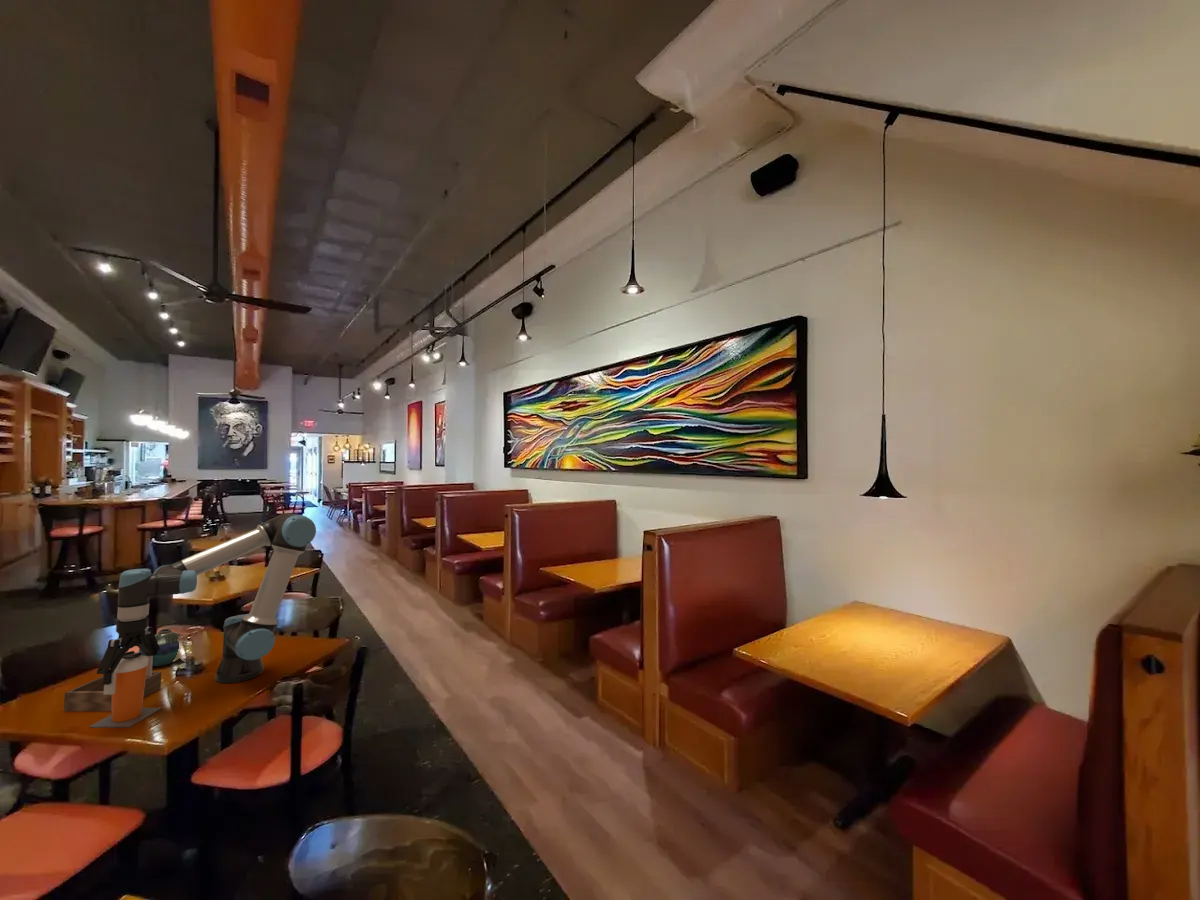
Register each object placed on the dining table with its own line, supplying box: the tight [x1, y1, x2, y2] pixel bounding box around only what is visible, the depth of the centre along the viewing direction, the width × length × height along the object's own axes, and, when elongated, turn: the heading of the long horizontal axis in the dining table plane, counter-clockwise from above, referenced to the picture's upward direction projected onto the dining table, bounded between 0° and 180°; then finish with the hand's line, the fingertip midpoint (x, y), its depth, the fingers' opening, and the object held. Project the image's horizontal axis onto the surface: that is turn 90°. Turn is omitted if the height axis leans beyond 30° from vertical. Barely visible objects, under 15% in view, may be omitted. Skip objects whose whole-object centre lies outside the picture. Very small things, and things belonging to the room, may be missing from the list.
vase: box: [137, 628, 182, 667], centre depth 203 cm, size 15×15×13 cm
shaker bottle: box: [110, 650, 148, 722], centre depth 160 cm, size 9×9×20 cm
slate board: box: [88, 707, 163, 729], centre depth 160 cm, size 12×12×1 cm
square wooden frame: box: [63, 671, 162, 712], centre depth 172 cm, size 17×17×6 cm
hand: (128, 684), depth 160 cm, fingers open, 13 cm apart
